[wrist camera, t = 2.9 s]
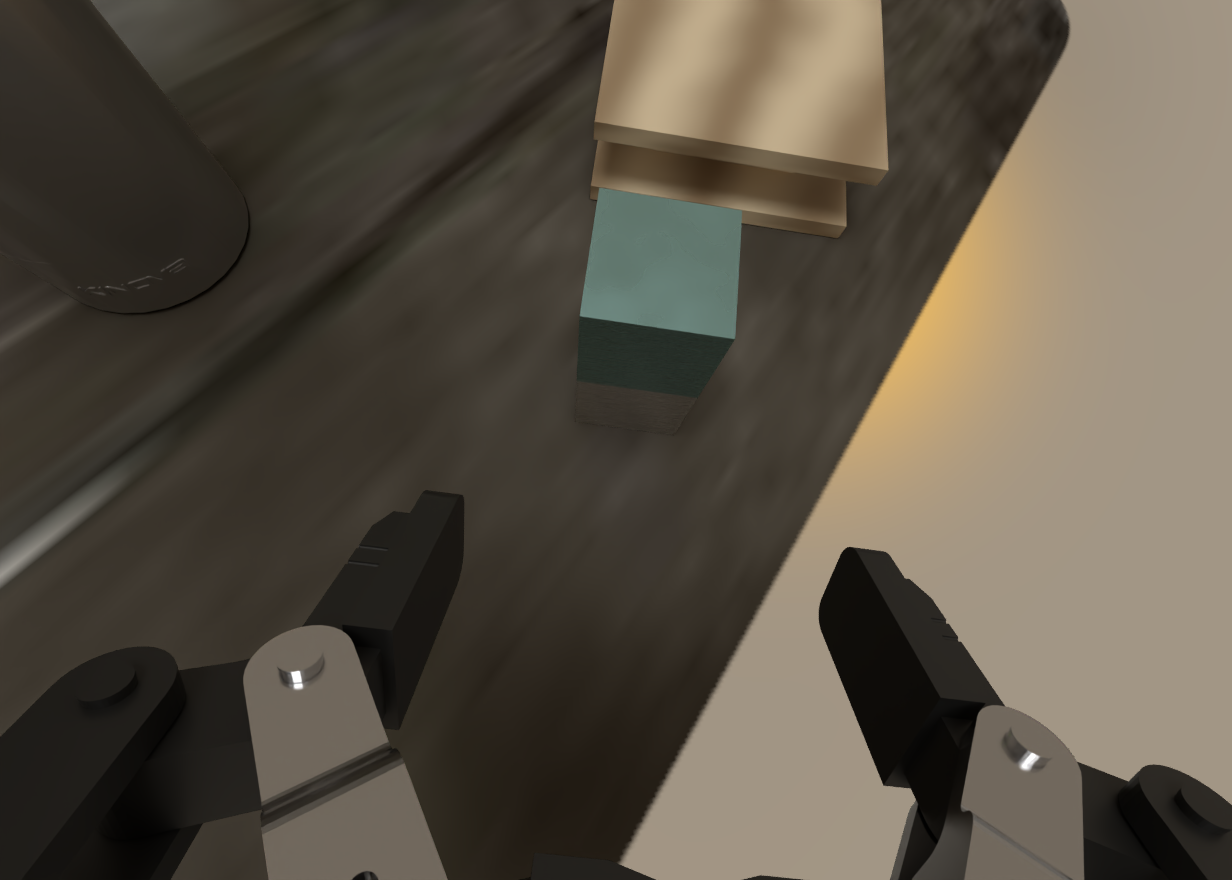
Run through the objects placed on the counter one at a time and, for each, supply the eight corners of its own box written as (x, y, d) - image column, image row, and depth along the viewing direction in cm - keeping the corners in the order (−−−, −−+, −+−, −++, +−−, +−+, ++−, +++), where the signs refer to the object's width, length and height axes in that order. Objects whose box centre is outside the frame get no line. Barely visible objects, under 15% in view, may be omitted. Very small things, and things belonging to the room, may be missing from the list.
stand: (590, 199, 30) (594, 121, 25) (619, 16, 34) (627, -80, 29) (837, 238, 30) (888, 170, 26) (836, 54, 34) (879, -34, 30)
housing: (574, 422, 26) (579, 316, 16) (588, 332, 27) (599, 187, 18) (673, 435, 26) (734, 338, 17) (681, 346, 28) (742, 210, 18)
